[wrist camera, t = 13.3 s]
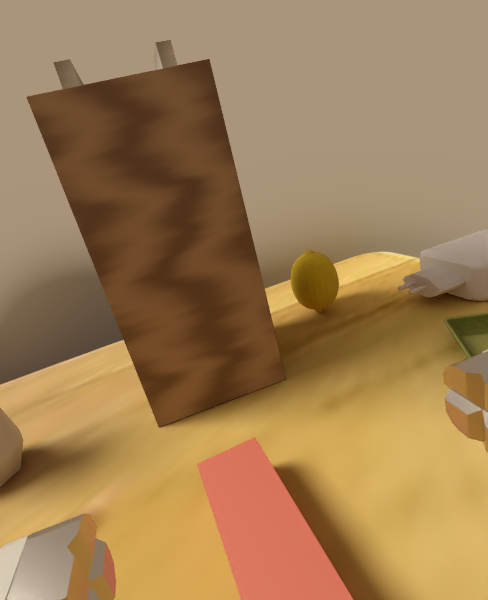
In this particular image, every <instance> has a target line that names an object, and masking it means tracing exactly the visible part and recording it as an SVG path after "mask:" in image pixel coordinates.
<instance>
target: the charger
mask: <svg viewBox="0 0 488 600" xmlns="http://www.w3.org/2000/svg"><path fill="white" fill-rule="evenodd" d="M420 268H421V271H419V272H416V273H414V274H411V275H408V276H406V277H404V279H403V281H404V283H405V285H402V286H399V287H398V290H403V289H405V288H408V287H409V288H410V289H411V290H409V294H413V293H417V294H419V295H422V296H425V297H428V298H430V297H434V296H437V295H440V294H443V293H445V292H446V293H449V294H452V295H455V296H458V297H462V298H465V299H469V300H474V301H486V300H488V229H486V230H482V231H479V232H476V233H473V234H471V235H468V236H465V237H461V238H459V239H456V240H453V241H450V242H447V243H444V244H441V245H439V246H435V247H433V248H430V249H427V250H424V251H422V252H421V255H420Z"/></svg>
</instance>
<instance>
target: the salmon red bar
mask: <svg viewBox="0 0 488 600" xmlns="http://www.w3.org/2000/svg"><path fill="white" fill-rule="evenodd" d="M197 466H198V469H199V472H200V475H201V478H202V481H203V484H204V487H205V490H206V493H207V496H208V499H209V503H210V506H211V509H212V512H213V515H214V518H215V521H216V524H217V527H218V530H219V533H220V536H221V539H222V542H223V545H224V549H225V552H226V555H227V558H228V561H229V564H230V567H231V570H232V573H233V576H234V579H235V582H236V585H237V588H238V591H239V594H240V598H241V600H353V598H352V596H351V595H350V593H349V592H348V590H347V588H346V587H345V585H344V583H343V582H342V580H341V578H340V577H339V575H338V573H337V572H336V570H335V568H334V567H333V565H332V563H331V562H330V560H329V559H328V557H327V555H326V554H325V552H324V550H323V549H322V547H321V545H320V544H319V542H318V540H317V539H316V537H315V535H314V534H313V532H312V531H311V529H310V527H309V526H308V524H307V522H306V521H305V519H304V517H303V516H302V514H301V512H300V511H299V509H298V507H297V506H296V504H295V502H294V501H293V499H292V498H291V496H290V494H289V493H288V491H287V489H286V488H285V486H284V484H283V483H282V481H281V479H280V478H279V476H278V474H277V473H276V471H275V470H274V468H273V466H272V465H271V463H270V461H269V460H268V458H267V456H266V455H265V453H264V451H263V450H262V448H261V446H260V445H259V443H258V441H257V440H256V438H252V439H250V440H248V441H246V442H244V443H242V444H240V445H237V446H235V447H233V448H231V449H229V450H227V451H224V452H222V453H220V454H218V455H216V456H214V457H212V458H209V459H207V460H205V461H203V462H201V463H199V464H197Z"/></svg>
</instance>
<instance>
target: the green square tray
mask: <svg viewBox="0 0 488 600" xmlns="http://www.w3.org/2000/svg"><path fill="white" fill-rule="evenodd" d="M443 321H444V323H445V324H446V326H447V327H448V329H449V330H450V332H451V333H452V335H453V336H454V338H455V339H456V341H457V342H458V344H459V345H460V347H461V348H462V350H463V351H464V353H465V354H466V356H467V358H470V357H472V356H475V355H477V354H480V353H482V352H483V351H485V350H488V313H481V314H473V315H465V316H457V317H449V318H446V319H444V320H443Z"/></svg>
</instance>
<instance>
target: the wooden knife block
mask: <svg viewBox="0 0 488 600" xmlns="http://www.w3.org/2000/svg"><path fill="white" fill-rule="evenodd" d="M54 65H55V68H56V71H57V73H58V76H59V79H60V82H61V85H62V87H63V89H62V90H57V91H53V92H48V93H43V94H38V95H33V96H28V97H27V99H28V102H29V104H30V107H31V109H32V112H33V114H34V117H35V119H36V122H37V124H38V127H39V129H40V132H41V134H42V137H43V139H44V142H45V144H46V147H47V149H48V152H49V154H50V157H51V159H52V162H53V164H54V167H55V169H56V171H57V174H58V176H59V179H60V182H61V184H62V186H63V189H64V192H65V194H66V197H67V199H68V202H69V204H70V207H71V209H72V211H73V214H74V217H75V219H76V221H77V224H78V227H79V229H80V232H81V234H82V237H83V239H84V242H85V244H86V247H87V249H88V252H89V254H90V256H91V259H92V262H93V264H94V267H95V269H96V272H97V274H98V277H99V279H100V282H101V284H102V287H103V289H104V292H105V294H106V296H107V299H108V302H109V304H110V307H111V309H112V311H113V314H114V316H115V319H116V321H117V324H118V326H119V329H120V331H121V334H122V336H123V339H124V341H125V344H126V346H127V349H128V351H129V354H130V356H131V359H132V361H133V364H134V366H135V369H136V371H137V374H138V376H139V379H140V381H141V384H142V386H143V389H144V391H145V394H146V396H147V399H148V401H149V404H150V406H151V409H152V411H153V414H154V416H155V419H156V421H157V424H158V426H159V427H161V426H164V425H166V424H169V423H172V422H174V421H177V420H180V419H182V418H185V417H187V416H190V415H193V414H195V413H198V412H201V411H203V410H206V409H209V408H211V407H214V406H216V405H219V404H222V403H224V402H227V401H230V400H232V399H235V398H238V397H240V396H243V395H245V394H248V393H251V392H253V391H256V390H259V389H261V388H264V387H267V386H269V385H272V384H274V383H277V382H280V381H282V380H285V379H286V376H285V372H284V368H283V364H282V360H281V355H280V351H279V347H278V343H277V339H276V335H275V330H274V326H273V322H272V318H271V314H270V310H269V305H268V301H267V297H266V293H265V289H264V285H263V280H262V276H261V272H260V268H259V264H258V260H257V255H256V252H255V247H254V243H253V239H252V235H251V231H250V226H249V223H248V218H247V214H246V210H245V205H244V201H243V198H242V193H241V189H240V185H239V181H238V177H237V172H236V168H235V164H234V160H233V156H232V152H231V147H230V143H229V139H228V135H227V131H226V126H225V122H224V118H223V114H222V110H221V106H220V102H219V97H218V93H217V89H216V85H215V81H214V77H213V72H212V68H211V64H210V60H209V59H207V60H202V61H197V62H192V63H188V64H183V65H178V66H177V62H176V59H175V55H174V51H173V47H172V44H171V40H167V41H162V42H157V43H156V44H155V54H154V63H153V71H149V72H145V73H140V74H134V75H130V76H125V77H120V78H115V79H111V80H106V81H101V82H96V83H92V84H86V85H83V83H82V81H81V79H80V78H79V76H78V74H77V72H76V70H75V68H74V66H73V64H72V63H71V61H70V60H65V61H60V62H54Z"/></svg>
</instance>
